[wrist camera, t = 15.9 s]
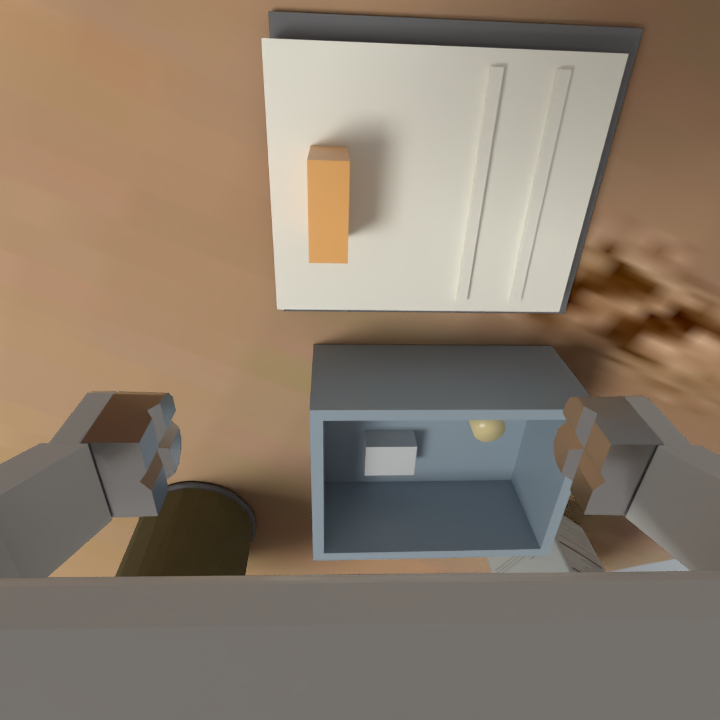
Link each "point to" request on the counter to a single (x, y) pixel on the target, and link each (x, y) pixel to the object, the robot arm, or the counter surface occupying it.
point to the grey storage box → (436, 450)
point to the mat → (473, 36)
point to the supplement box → (555, 555)
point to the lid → (431, 172)
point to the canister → (192, 535)
